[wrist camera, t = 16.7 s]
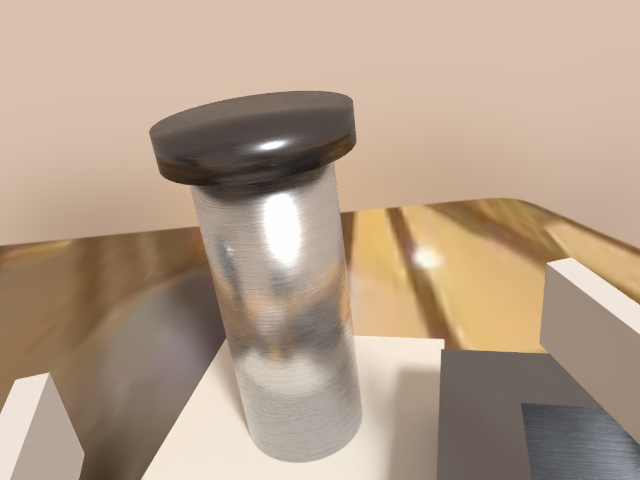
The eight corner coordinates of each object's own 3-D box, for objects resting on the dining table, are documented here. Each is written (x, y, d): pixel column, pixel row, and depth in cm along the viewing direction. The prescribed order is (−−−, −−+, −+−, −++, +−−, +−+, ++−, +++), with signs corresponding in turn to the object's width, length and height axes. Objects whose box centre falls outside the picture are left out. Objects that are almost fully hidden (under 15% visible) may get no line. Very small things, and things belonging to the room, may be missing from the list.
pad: (123, 534, 24) (117, 519, 24) (233, 342, 36) (230, 330, 36) (438, 581, 21) (438, 565, 20) (444, 352, 33) (444, 339, 32)
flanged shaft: (204, 470, 26) (106, 149, 19) (258, 362, 33) (201, 98, 26) (369, 489, 24) (328, 136, 17) (390, 370, 30) (367, 85, 24)
